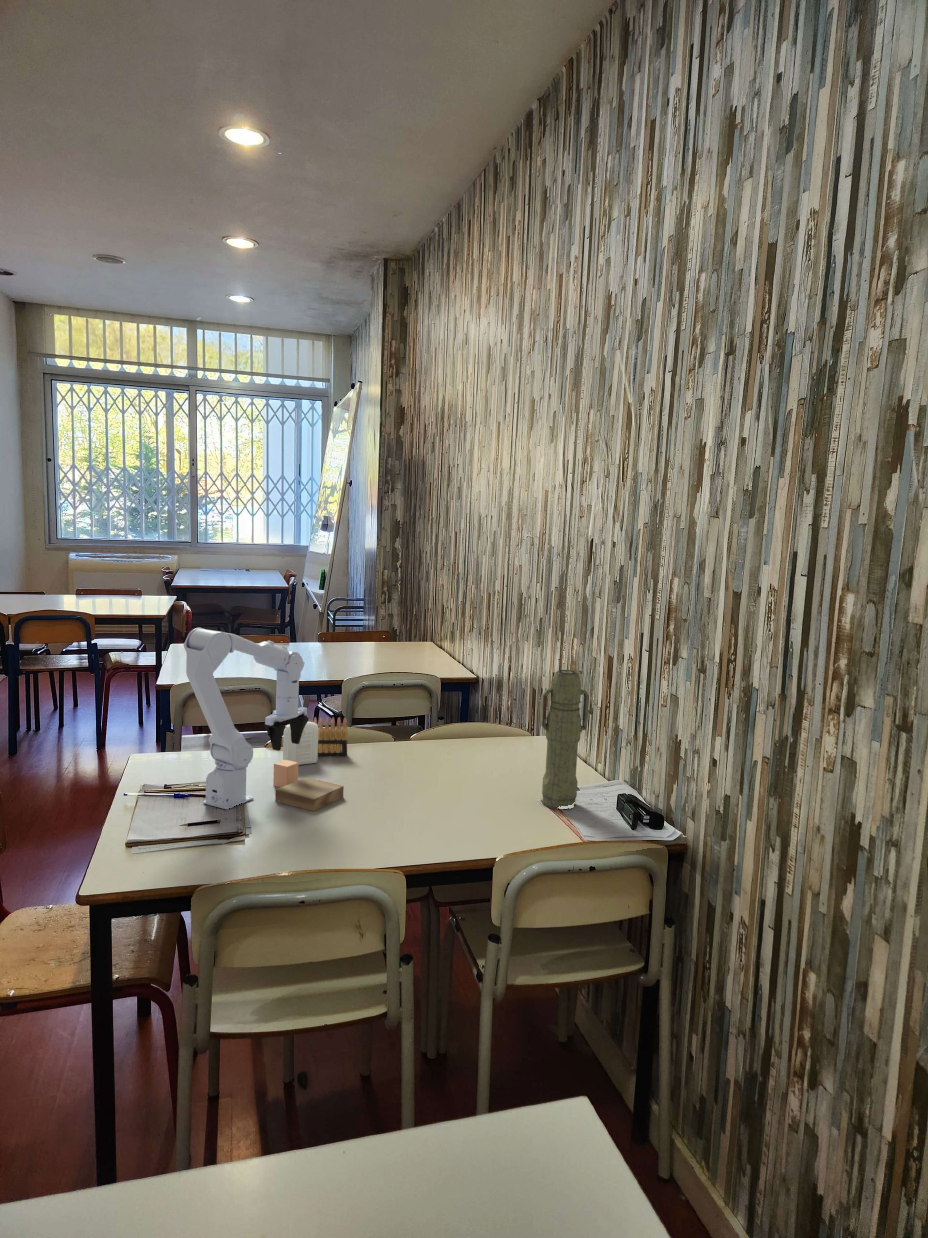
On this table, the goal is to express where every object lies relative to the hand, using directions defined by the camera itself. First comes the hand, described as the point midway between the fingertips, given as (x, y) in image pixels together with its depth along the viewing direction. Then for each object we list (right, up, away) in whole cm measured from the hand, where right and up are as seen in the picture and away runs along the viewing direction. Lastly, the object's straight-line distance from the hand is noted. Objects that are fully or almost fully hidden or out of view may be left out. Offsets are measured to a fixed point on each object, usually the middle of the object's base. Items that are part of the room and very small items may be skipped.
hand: (286, 746), depth 208 cm
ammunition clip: (+6, -8, +29) cm, 31 cm away
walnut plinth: (+8, -12, -9) cm, 17 cm away
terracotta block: (0, -10, +1) cm, 11 cm away
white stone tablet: (-1, -8, +20) cm, 22 cm away
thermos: (+71, -15, -3) cm, 73 cm away
